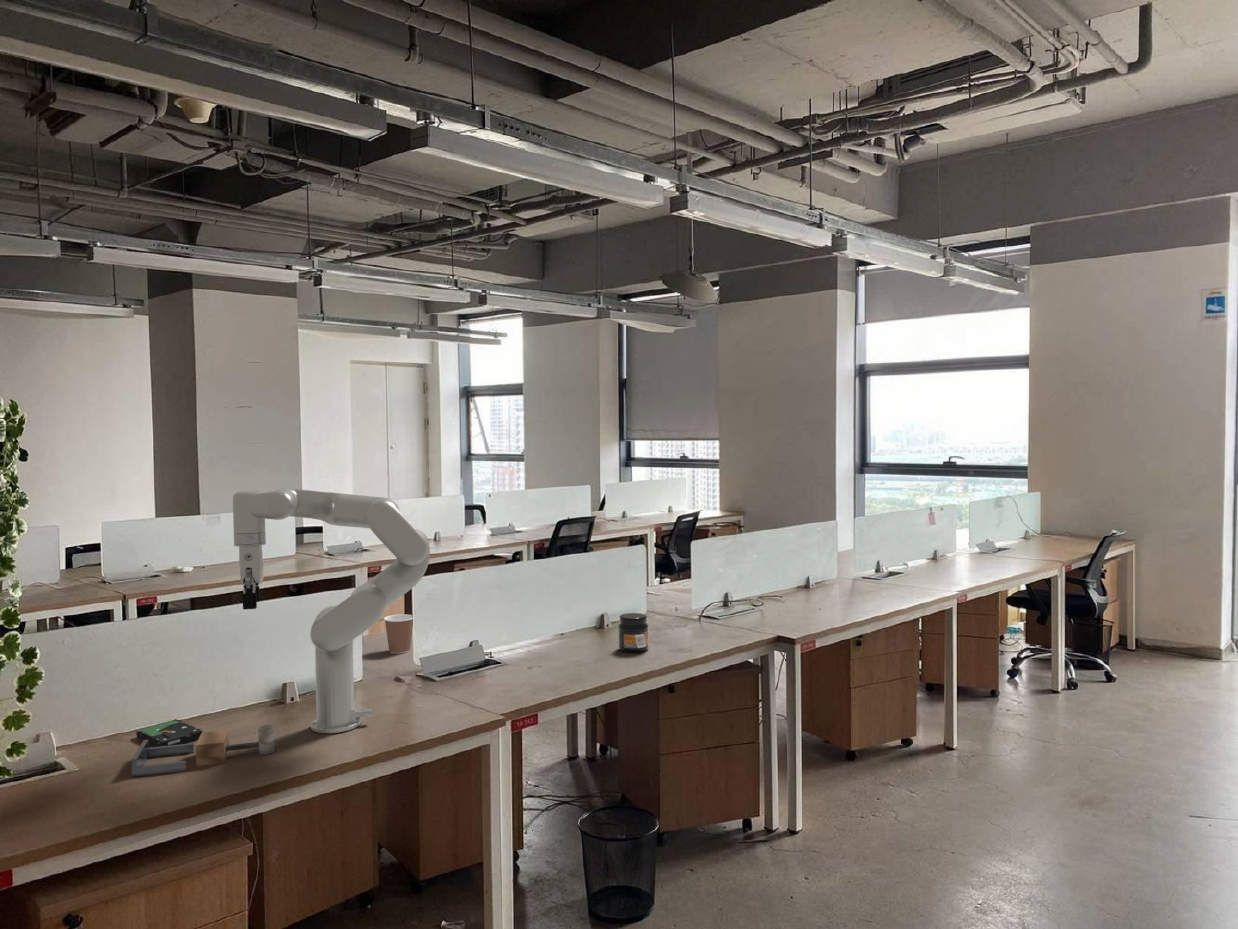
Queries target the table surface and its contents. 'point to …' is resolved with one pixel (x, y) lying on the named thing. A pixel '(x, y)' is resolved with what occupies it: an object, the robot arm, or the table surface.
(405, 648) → the coffee cup
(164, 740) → the disk drive
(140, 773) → the grey u-shaped frame
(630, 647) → the supplement container
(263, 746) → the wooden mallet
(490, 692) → the table surface
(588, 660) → the table surface
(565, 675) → the table surface
